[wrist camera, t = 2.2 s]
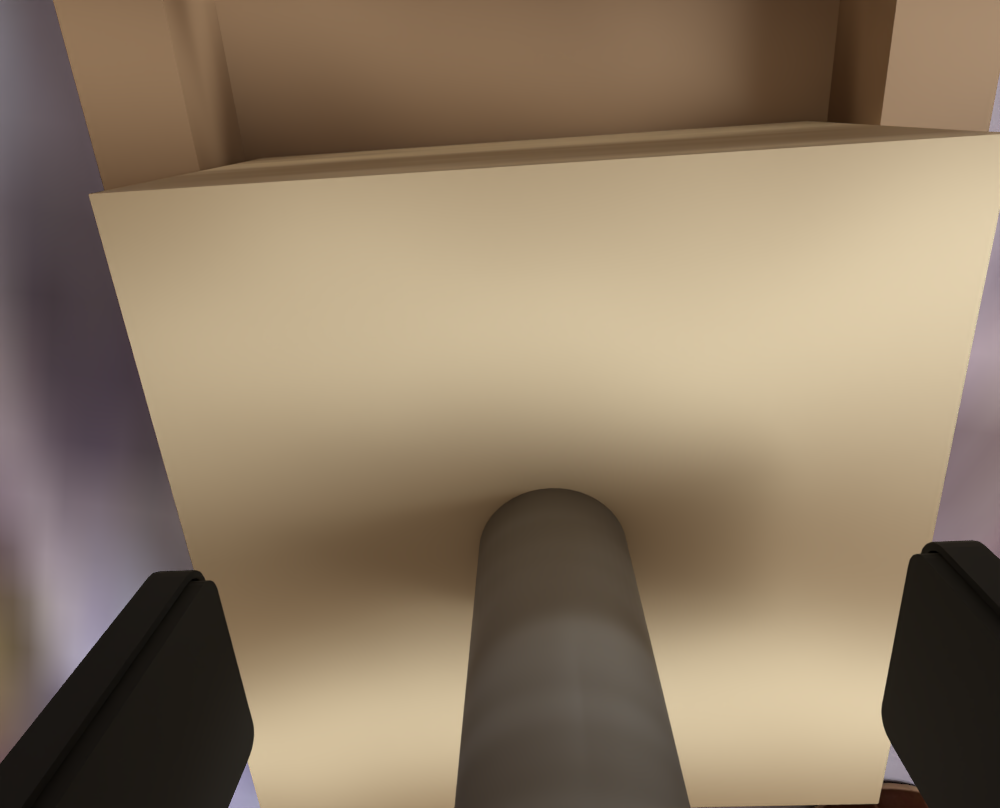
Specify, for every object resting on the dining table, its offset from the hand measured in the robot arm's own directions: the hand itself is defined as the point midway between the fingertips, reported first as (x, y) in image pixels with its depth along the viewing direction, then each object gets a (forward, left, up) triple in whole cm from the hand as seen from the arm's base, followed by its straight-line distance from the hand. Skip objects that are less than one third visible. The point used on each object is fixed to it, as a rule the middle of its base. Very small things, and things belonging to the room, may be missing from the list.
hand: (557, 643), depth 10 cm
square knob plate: (0, 0, -10) cm, 10 cm away
